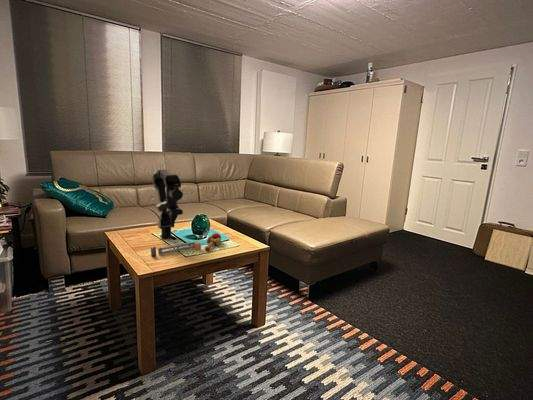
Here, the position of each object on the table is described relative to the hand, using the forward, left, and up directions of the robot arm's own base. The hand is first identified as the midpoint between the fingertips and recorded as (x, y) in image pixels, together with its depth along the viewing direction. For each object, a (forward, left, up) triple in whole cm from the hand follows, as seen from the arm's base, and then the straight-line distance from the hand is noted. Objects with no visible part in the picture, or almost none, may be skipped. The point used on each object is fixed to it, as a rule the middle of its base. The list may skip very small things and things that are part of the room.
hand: (172, 223), depth 165 cm
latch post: (+16, +8, -12) cm, 21 cm away
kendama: (+15, +18, -12) cm, 26 cm away
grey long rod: (+13, -2, -12) cm, 17 cm away
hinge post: (+13, -14, -12) cm, 23 cm away
